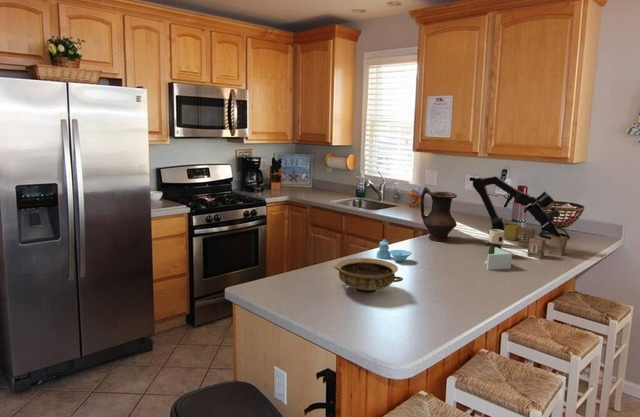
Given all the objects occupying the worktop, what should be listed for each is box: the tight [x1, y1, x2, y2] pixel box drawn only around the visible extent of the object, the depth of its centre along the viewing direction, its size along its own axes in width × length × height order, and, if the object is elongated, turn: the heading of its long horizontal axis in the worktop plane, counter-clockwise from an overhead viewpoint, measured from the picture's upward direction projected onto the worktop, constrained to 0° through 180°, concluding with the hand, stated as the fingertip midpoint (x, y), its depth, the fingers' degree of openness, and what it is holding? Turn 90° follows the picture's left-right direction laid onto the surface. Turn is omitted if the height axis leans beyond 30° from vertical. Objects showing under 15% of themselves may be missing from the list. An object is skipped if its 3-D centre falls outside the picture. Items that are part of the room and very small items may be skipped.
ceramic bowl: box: [333, 257, 404, 295], centre depth 190 cm, size 30×24×10 cm
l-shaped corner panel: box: [484, 247, 513, 271], centre depth 229 cm, size 12×12×8 cm
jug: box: [419, 186, 458, 243], centre depth 277 cm, size 21×18×30 cm
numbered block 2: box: [527, 237, 547, 260], centre depth 247 cm, size 6×6×9 cm
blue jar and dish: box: [376, 238, 412, 263], centre depth 234 cm, size 18×10×9 cm, turn 49°
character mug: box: [487, 228, 505, 255], centre depth 247 cm, size 11×7×13 cm, turn 140°
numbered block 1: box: [518, 227, 536, 247], centre depth 273 cm, size 6×6×9 cm
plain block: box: [548, 234, 569, 256], centre depth 254 cm, size 6×6×9 cm
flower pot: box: [504, 221, 522, 241], centre depth 284 cm, size 9×9×9 cm
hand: (559, 236), depth 253 cm, fingers closed, pressing on plain block
